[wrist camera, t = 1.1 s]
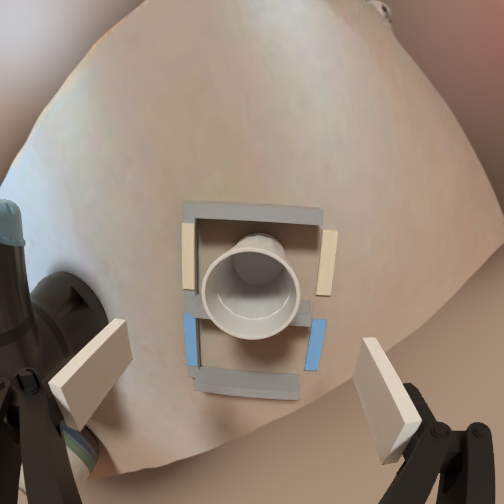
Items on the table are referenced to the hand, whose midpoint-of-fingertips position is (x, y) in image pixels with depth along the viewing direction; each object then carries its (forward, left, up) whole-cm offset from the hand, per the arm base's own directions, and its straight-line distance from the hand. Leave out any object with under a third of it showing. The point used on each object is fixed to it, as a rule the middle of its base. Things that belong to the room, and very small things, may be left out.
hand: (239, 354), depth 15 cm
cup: (0, 0, -21) cm, 21 cm away
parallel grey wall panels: (-1, -6, -20) cm, 21 cm away
